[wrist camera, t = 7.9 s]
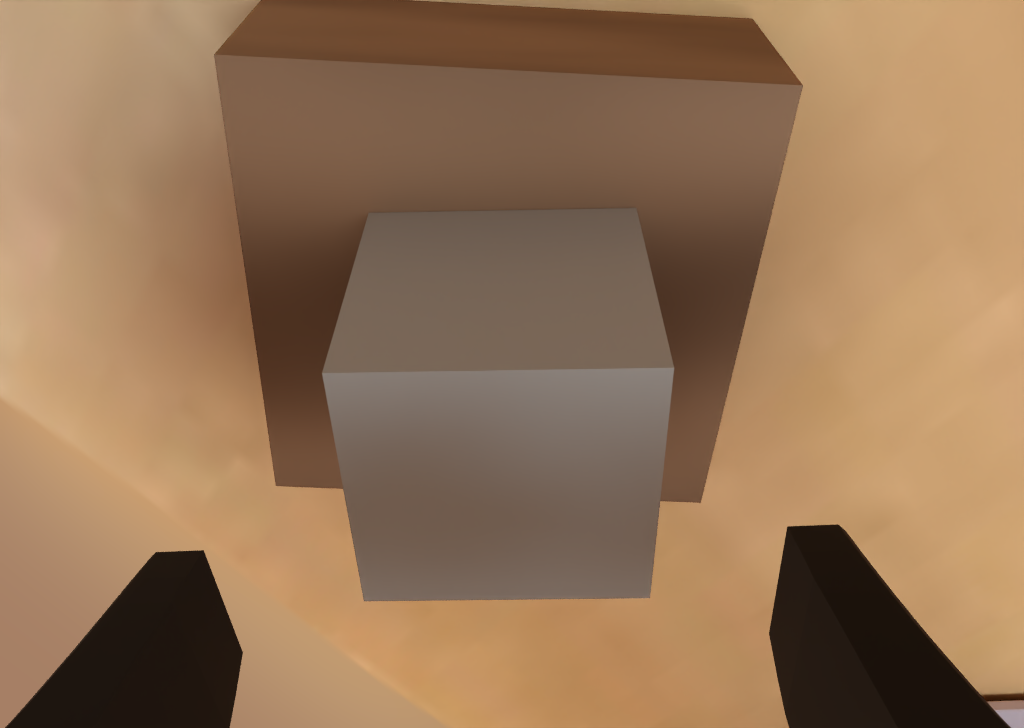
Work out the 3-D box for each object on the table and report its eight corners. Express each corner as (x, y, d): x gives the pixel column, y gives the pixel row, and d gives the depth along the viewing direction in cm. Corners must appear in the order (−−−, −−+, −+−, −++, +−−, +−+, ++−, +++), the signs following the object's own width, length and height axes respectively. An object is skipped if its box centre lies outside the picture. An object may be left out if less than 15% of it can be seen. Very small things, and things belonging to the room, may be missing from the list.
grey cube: (623, 415, 18) (650, 598, 14) (395, 418, 18) (363, 601, 14) (636, 207, 15) (674, 367, 11) (368, 212, 15) (321, 373, 12)
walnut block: (674, 387, 22) (700, 502, 19) (310, 372, 22) (275, 486, 19) (748, 13, 17) (803, 85, 14) (272, -13, 17) (214, 54, 14)
